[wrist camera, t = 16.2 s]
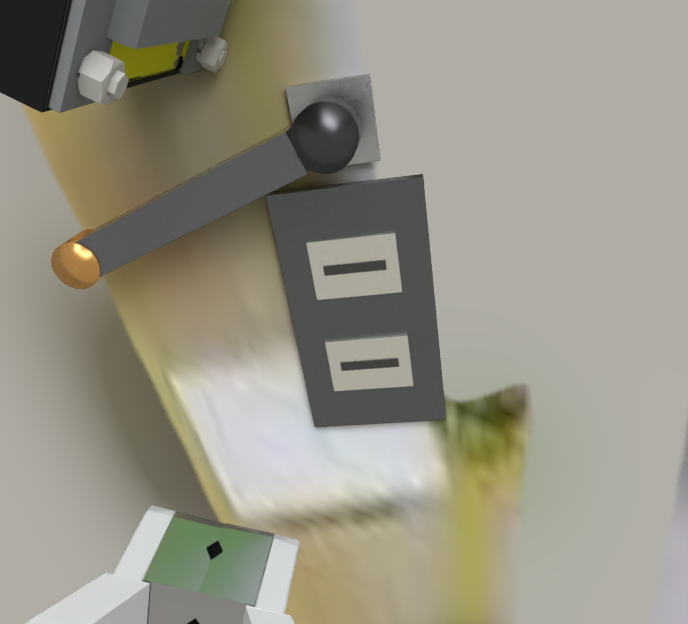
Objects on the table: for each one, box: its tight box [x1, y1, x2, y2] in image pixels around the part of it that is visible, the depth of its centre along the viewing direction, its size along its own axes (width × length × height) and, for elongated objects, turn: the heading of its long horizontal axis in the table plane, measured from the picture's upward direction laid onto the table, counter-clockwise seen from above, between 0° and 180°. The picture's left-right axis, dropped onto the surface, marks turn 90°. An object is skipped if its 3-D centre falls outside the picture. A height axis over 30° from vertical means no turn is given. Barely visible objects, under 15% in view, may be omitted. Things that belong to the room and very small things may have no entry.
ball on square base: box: [286, 74, 380, 165], centre depth 43 cm, size 6×6×3 cm
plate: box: [266, 174, 446, 427], centre depth 50 cm, size 12×22×1 cm, turn 9°
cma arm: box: [51, 97, 361, 289], centre depth 43 cm, size 25×4×3 cm, turn 117°
